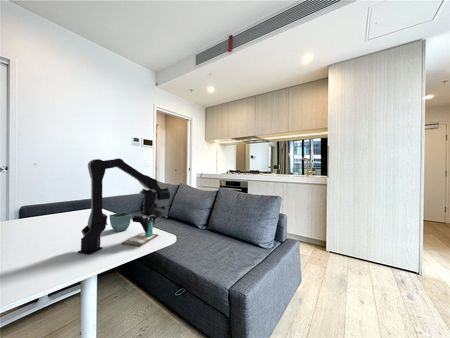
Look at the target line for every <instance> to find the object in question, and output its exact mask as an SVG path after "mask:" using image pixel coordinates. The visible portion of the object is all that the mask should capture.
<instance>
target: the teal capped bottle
mask: <svg viewBox="0 0 450 338" xmlns="http://www.w3.org/2000/svg"><path fill="white" fill-rule="evenodd" d="M149 220H151V221H150V222H149V226H148V232H147V233H145V232H144V233H145V236H146V237H150V236H152V234H153V228H154V226H153V218H149Z"/></svg>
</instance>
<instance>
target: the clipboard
mask: <svg viewBox="0 0 450 338" xmlns="http://www.w3.org/2000/svg"><path fill="white" fill-rule="evenodd" d="M157 237H159V234H156V233H152V236H150V237H146V236H145V232H141V233H139V234H136V235H134V236H133V237H131V238H129V239H127V240H125V241H122V242H121V245H125V246H133V247H142V246H144V245H145V244H147V243H149V242H150V241H152V240H153V239H155V238H157Z"/></svg>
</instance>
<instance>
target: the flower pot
mask: <svg viewBox="0 0 450 338" xmlns="http://www.w3.org/2000/svg"><path fill="white" fill-rule="evenodd" d="M131 219H132V214H131V213H128V212H125V211H124V212H118V213H112V214H109V223H110V227H111V228H112V229H113V230H114V232H118V233H119V232H123V231H127V229H129V227H130V224H131Z"/></svg>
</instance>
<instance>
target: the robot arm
mask: <svg viewBox="0 0 450 338" xmlns="http://www.w3.org/2000/svg"><path fill="white" fill-rule="evenodd" d="M113 168H117V169H119V170H121V171H123V172H124V173H126V174H127V175H128V176H130V177H132V178H133V179H135V180H137V182H138V183H139V184H140V185H142V187H143V188H142V190H141V191H140V192H139V194H141V195H143V203H141V207H143V211H141V214H140V213H139V214H135V215H133V217H132V223H140V225H141V227H142V229H143V231H144V233H147V232H148V226H149V222H150V221H151V220H149V218H153V227H154V226H155V222H156V220H158V219H160V218H162V217H164V216H165V214H166V213H167V207H166V206H165V205H162V206H158V203H157V202H156V200H157V201H158V202H160V201H169V200H170V198H171V194H170V190H169V188H168V187H163V188H161V187H160V186H159V184H158V180H157V179H156V178H154V177H152V176H149V175H146V174H144V173H142V172H141V171H139V170H137V168H135V167H133V166H132V165H130V164H129V163H127V162H125V160H123V158H120V157H119V158H114V159H105V160H102V159H99V158H98V159H91V160H90V161H89V162H88V163H87V170H88V174H89V178H90V181H91V182H90V183H91V184H90V187H91V188H90V190H91V191H90V192H91V193H90V213H89V216H88V220H87V225H86V226H85V227H83V229H81V231H80V232H81V234H82V235H83V236H82V238H80V249H79V250H78V251H77V253H78V254H85V255H92V254H94V253H96V252H98V251H100V250H102V249H103V246H101V234H102V233H103V232H104V231H105V230H106V228H107V226H108V223H107V222H108V215H107V214H105V213H103V179H104V176H105V174H106V170H108V169H113Z"/></svg>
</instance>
